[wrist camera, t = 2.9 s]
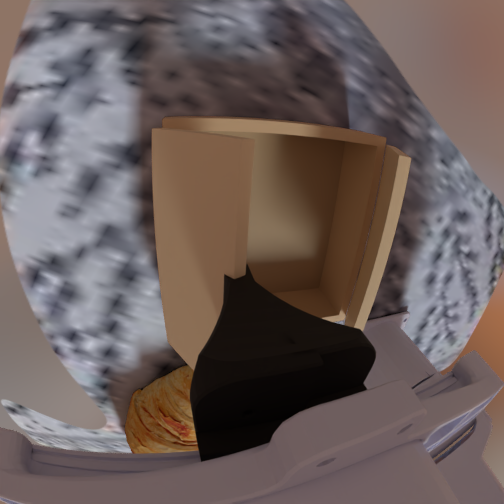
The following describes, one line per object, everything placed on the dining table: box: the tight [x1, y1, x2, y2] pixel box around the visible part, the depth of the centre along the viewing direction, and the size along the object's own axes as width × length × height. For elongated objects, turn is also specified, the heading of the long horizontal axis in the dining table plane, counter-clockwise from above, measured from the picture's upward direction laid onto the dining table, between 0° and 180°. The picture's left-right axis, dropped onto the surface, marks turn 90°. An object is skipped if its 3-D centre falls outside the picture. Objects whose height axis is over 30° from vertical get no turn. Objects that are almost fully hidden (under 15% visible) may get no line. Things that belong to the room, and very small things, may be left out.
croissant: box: [125, 365, 198, 454], centre depth 25 cm, size 21×10×8 cm, turn 146°
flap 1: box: [152, 128, 255, 370], centre depth 12 cm, size 12×6×1 cm
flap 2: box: [345, 145, 411, 332], centre depth 15 cm, size 12×6×1 cm
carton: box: [162, 116, 386, 322], centre depth 18 cm, size 13×12×4 cm
